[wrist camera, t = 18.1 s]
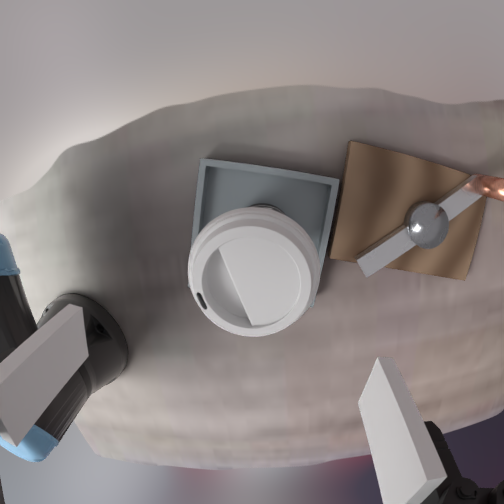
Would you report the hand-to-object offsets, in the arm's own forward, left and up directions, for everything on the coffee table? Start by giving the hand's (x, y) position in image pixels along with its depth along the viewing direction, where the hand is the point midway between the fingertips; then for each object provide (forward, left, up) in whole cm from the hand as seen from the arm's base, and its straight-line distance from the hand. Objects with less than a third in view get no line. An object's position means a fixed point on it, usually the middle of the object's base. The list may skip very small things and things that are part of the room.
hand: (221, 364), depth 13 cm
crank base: (+18, +5, -24) cm, 31 cm away
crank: (+18, +5, -23) cm, 30 cm away
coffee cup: (+1, 0, -24) cm, 24 cm away
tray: (0, 0, -24) cm, 24 cm away
